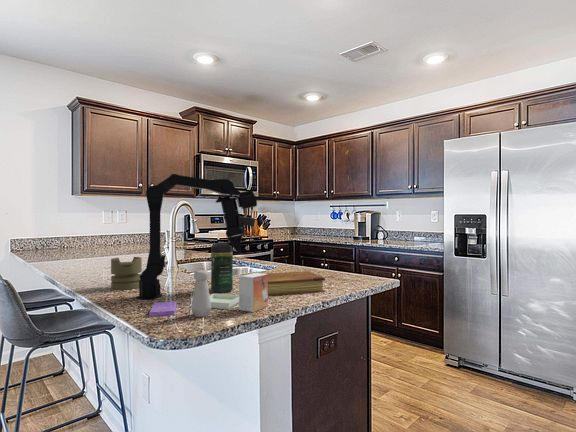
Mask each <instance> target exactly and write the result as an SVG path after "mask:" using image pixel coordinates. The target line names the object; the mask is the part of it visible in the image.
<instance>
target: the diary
mask: <svg viewBox="0 0 576 432" xmlns="http://www.w3.org/2000/svg"><path fill="white" fill-rule="evenodd" d="M265 274H268V295H270V296H283V295H282V294H284V295H295V294H310V293H312V294H313V293H323V292H325V293H326V290H325V289H323V287H324V286H323V284H324V283H323V281H326V278H325V277H324V276H321V275H318V274H317V273H314V272H311V271H309V270H305V271H287V272H271V273H265Z"/></svg>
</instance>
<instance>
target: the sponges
mask: <svg viewBox="0 0 576 432" xmlns="http://www.w3.org/2000/svg"><path fill="white" fill-rule="evenodd" d="M177 304H178V301H177V300H176V301H175V300H174V301H164V302H154V303H153V304H152V307H151V309H150V311H149V317H163V316H164V317H165V316H174V315H175V313H176V310H177Z"/></svg>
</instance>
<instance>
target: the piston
mask: <svg viewBox="0 0 576 432" xmlns="http://www.w3.org/2000/svg"><path fill="white" fill-rule="evenodd" d="M142 259H143V258H142V257H140V256H133V259H132V261H121V260H120V257H115V258H111V259H110V274H111V275H112V276H111V277H110V281H111V283H110V289H112V290H111V291H113V290H129V291H133V290H132V289H135V290H139V280H140V275H141V273H142V272H143V270H142Z"/></svg>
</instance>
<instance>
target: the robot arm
mask: <svg viewBox="0 0 576 432" xmlns="http://www.w3.org/2000/svg"><path fill="white" fill-rule="evenodd" d="M176 186H177V187H183V188H185V187H186V188H193V189H199V190H205V191H210V192H212V193H215V194H219V195H218V196H217V199H216V200H215V203H216V204H217V203H220V204H221V205H220V206H221V208H222V214H223V219H224V222H225V226H226V227H225V228H226V231H225V236H226V238H227V240H228V241H229V242H230V243H231V244H230V245H231V246H232V248H234V250H235V251H236V252H237V254H238V255H239V254H241V253H242V243H241V241H242V238H243V236H244V234H245V232H244V228H243V226H249V227H250V228H251V227H253V228H254V227H255V224H256V217H254V218H253V217H252V215H251V214H247V215H246V216H242V215H241V214H240V212H239V208H241V210H245V209H250V208H254V207H255V208H256V207H257V205H258V203H257V197H256V195H255V193H254V190H253V189H248V190H247V191H240V190H239V189H238V188H236V187H235V186H234V183H233V182H232V180H231V179H228V178H214V179H205V178H201V177H193V176H186V175H179V174H177V173H173V174H171V175H170V176H168V177H167V178H165V179H164V180H163V181H161V182H159V183H157V184H156V185H155V184H154V185H153V184H152V185H150V186H149V187H148V188H147V189H146V191H145V195H146V201H147V206H148V210H149V252H148V257H147V262H146V267H145V269H143V270H142V272H140V274H141V275H140V280H139V289H138V293H139V294H138V296H136V299H141V300H153V299H156V298H159V297H161V296H163V293H161V282H160V279H159V278H158V276H160V275H161V274H163V272H164V268H166V266H167V264H166V261H165V260H166V254H162V250H161V244H162V243H161V240H162V239H161V230H162V229H161V226H162V225H161V211H162V206H163V202H164V197H165V194H166V193H169V191H171V190H172V189H173V188H175V187H176ZM220 195H221V196H220ZM230 196H231V197H230ZM235 196H236V197H235Z"/></svg>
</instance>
